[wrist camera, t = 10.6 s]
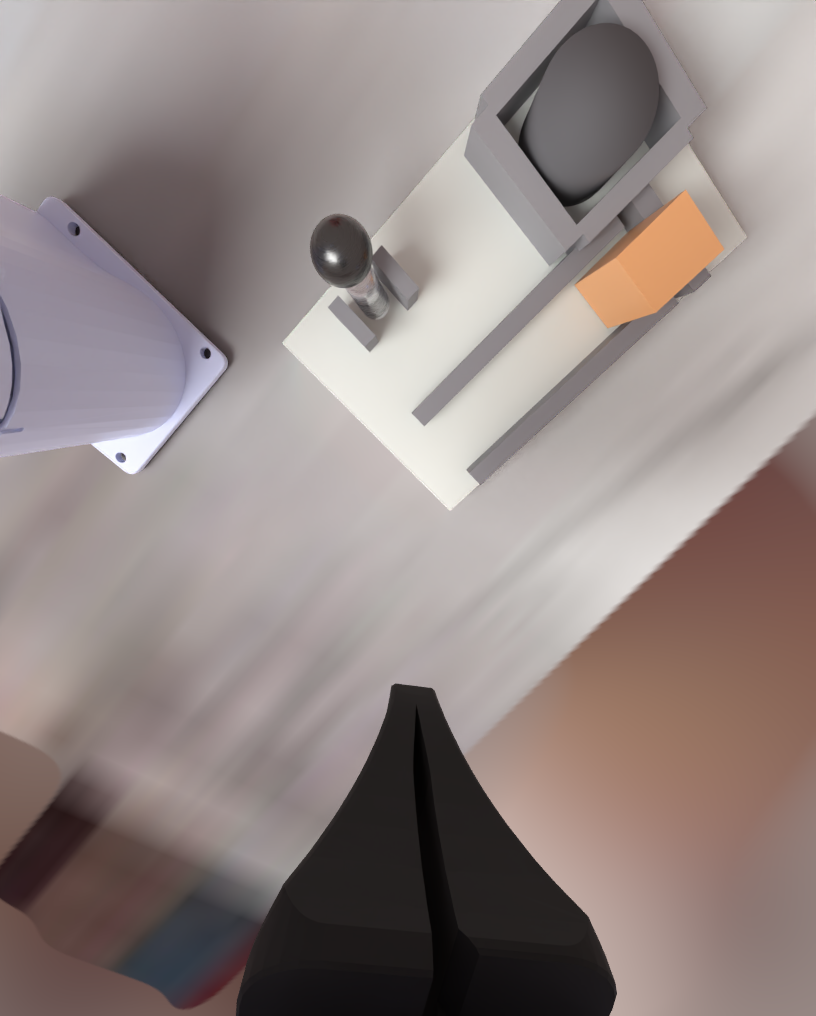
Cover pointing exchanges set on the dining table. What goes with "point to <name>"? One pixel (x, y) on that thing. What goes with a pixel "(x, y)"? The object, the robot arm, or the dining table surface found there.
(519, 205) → the panel
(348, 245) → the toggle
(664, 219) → the orange flat-faced block
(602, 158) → the button
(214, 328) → the dining table surface
